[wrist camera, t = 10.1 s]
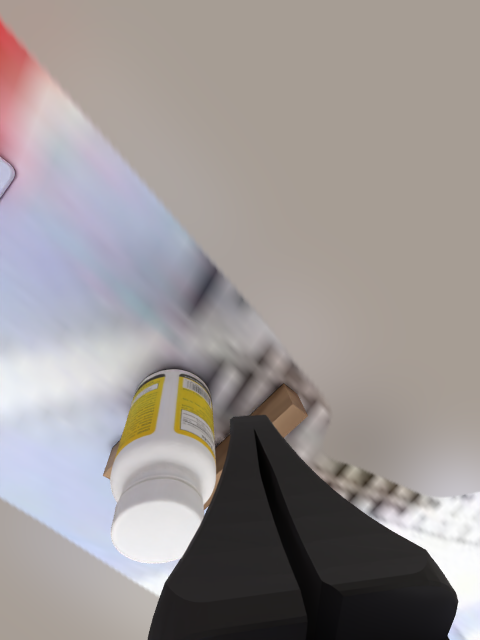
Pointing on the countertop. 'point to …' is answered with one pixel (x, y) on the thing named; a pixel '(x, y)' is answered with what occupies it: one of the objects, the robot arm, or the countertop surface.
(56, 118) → the countertop surface
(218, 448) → the wooden l-shaped block
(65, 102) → the countertop surface
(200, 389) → the supplement bottle
